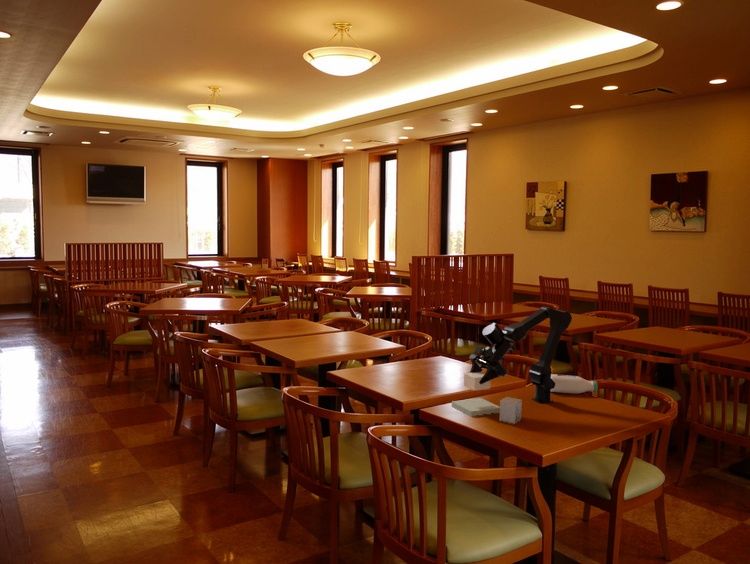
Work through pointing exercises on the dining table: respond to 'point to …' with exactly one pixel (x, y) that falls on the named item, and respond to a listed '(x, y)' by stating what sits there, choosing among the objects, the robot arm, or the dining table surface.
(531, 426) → the dining table surface
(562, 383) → the milk bottle
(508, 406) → the steel tin
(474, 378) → the cream lid
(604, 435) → the dining table surface
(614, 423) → the dining table surface
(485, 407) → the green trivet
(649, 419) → the dining table surface
